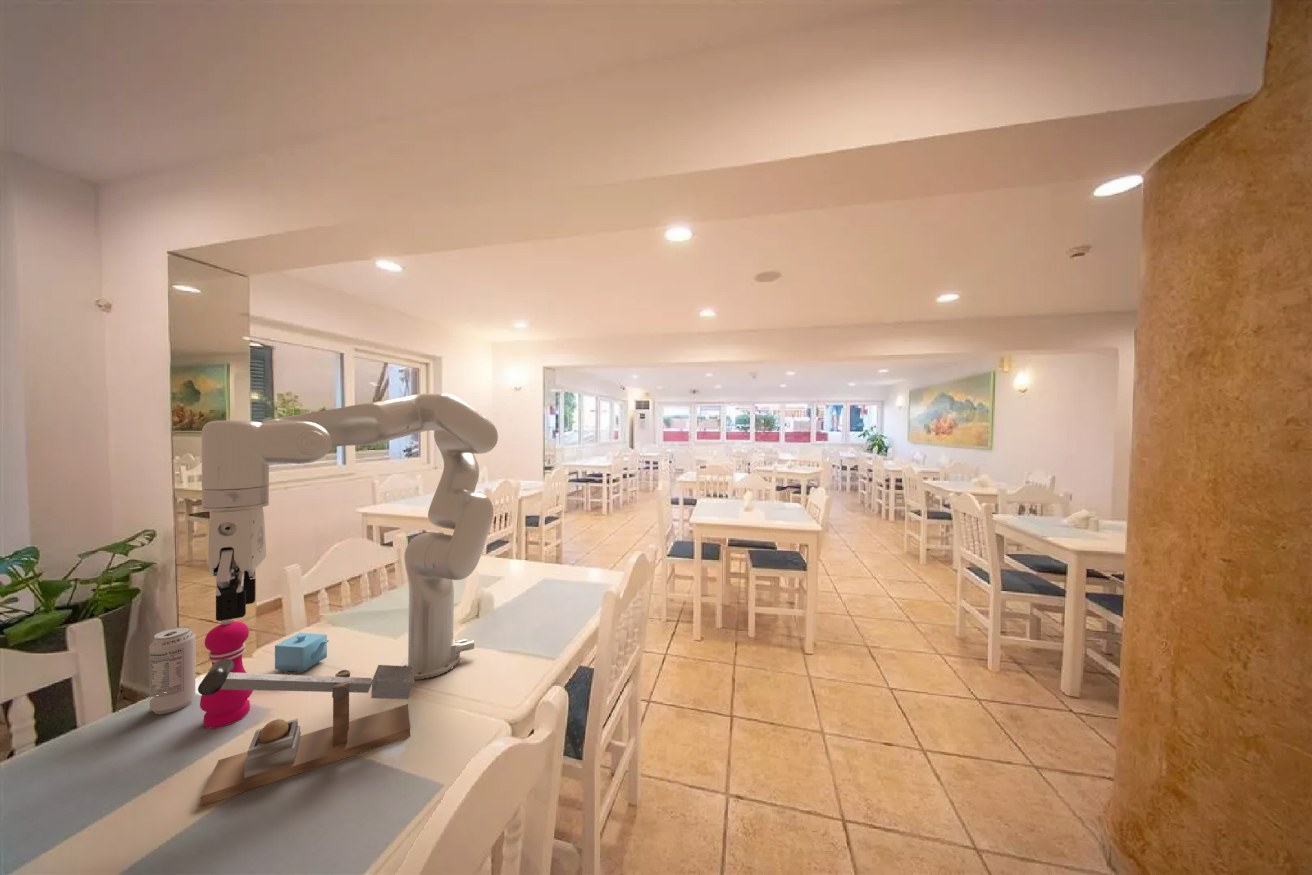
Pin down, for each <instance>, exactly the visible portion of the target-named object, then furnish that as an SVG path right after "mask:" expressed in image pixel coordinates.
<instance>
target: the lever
mask: <svg viewBox="0 0 1312 875" xmlns="http://www.w3.org/2000/svg"><path fill="white" fill-rule="evenodd" d="M233 667H234V663H233V661H232V660H230V659H222V660H219V661H217V662H216V663H214V665H213V666H212V665H211V667H210V669H209V670H208V672H207V673H206V675H205V676H204V677H203V679H202V681H201V682H200V683H199V685H198V688H197V691H198V693H199V694H200V695H201V696H202V695H212V694H214V693H216V692H218V691H219V690H220V689H230V690H253V691H274V692H275V691H277V692H278V691H281V692H282V691H283V692H318V693H319V692H321V693H322V692H323V693H324V692H325V693H326V692H327V693H333V686H334V684H338V683H342V682H346V681H348V692H349V693H359V694H360V693H362V694H363V693H365V694H368V693H369V692H370V689H371V693H370V694H371V696H370V699H381V700H382V699H387V700H388V699H389V700H408V699H409V696H410V694H411V692H412V689H413V687H414V685H415V684H414V683H415V679H414V676H413V668H412V667H409V666H401V665H388V664H387V665H386V664H385V665H384V664H377V668H376V670H375V673H374V675H373V676H372V677H356V676H355V677H354V676H350V677H335V676H329V675H302V674H279V673H276V674H275V673H258V672H256V673H253V672H246V673H233V672H231V670H232V669H233Z"/></svg>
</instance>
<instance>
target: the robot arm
mask: <svg viewBox="0 0 1312 875" xmlns="http://www.w3.org/2000/svg"><path fill="white" fill-rule="evenodd" d="M427 431H428V432H429V431H433V438H434V442H435V444H436V446H437V448H438V449H439V452H440V454H441V456H442V460H443V470H442V473H441V477H440V480H439V482H438V485H437V487H436V488H435V489H436V490H435V492H434V495H433V497H432V499H431V503H430V505H429V508H428V511H427V512H428V513H427V516H428V521H429V522H430V523H431V524H432V525H433V526H435V527H437V528H440V529H445V530H446V529H447V530H453V533H452V535H451V534H446V533H439V532H423V533H420V534H418V535H416V536H415V537H413V538H412V539H411V540H410V541H409V543H408V544H407V546H406V548H405V551H404V556H403V557H404V558H403V560H404V567H405V571H406V575H407V576H406V577H407V582H408V634H407V635H408V638H407V639H408V642H407V643H408V644H407V645H408V646H407V648H408V649H407V650H408V651H407V652H408V653H407V655H408V656H407V657H406V658H405V659H404V660H403V661H402V662H401V664H400V666H409V667H412V668H413V676H414V680H425V679H424V678H426V679H430V678H429V677H431V678H434V677H433V676H435V677H438V676H440V674H441V675H443V674H445V673H444V672H446V671H447V672H449V671H450V670H449V669H451V668H452V667H454V666H455V665H456V664H457V663H458V664H459V662H460V660H461V652H467V651H471V650H474V649H475V642H474V640H471V641H470V640H469V641H468V639H467V638H464V639H461V640H455V637H454V605H455V604H454V601H455V587H454V581H461V580H465V579H466V578H468V577H469V576H470V575H472V574H473V572H474V571H475V569H476V568H477V566H478V564H479V561H480V559H481V557H482V553H483V550H484V548H485V545H486V542H487V539H488V536H489V532H490V529H491V526H492V523H493V519H494V505H493V503H492V500H491V499H490V497H488V496H487V495H486V494H484V493H480V492H476V487H477V484H478V481H479V476H480V467H479V464H478V460H477V458H476V456H475V454H478V455H481V454H487V453H489V452H491V451H492V450H493V449H494V448H495V447H496V446H497V443H498V439H499V434H498V430H497V428H496V426H495V424H494V423H493V422H492V421H491V420H489V419H488V418H487V417H486V416H484V415H483V414H482V413H480V412H479V411H478V410H476V409H475V408H474V407H472V406H471V405H469V403H467V402H465V401H464V400H462V399H461V398H459V397H458V396H456V395H453V394H450V393H417V394H412V395H406V396H400V397H394V398H389V399H384V400H378V401H371V402H366V403H361V404H360V403H359V404H354V405H348V406H343V407H337V408H333V409H327V410H326V409H325V410H320V411H314V412H313V411H312V412H305V413H300V414H294V415H289V416H283V417H282V416H281V417H277V418H271V419H268V420H264V421H262V422H260V421H253V420H212V421H208V422H207V423H205V424H204V425H203V427H202V429H201V511H202V512H209V513H210V516H209V525H208V526H209V530H208V531H209V532H208V547H207V548H208V550H207V551H208V552H207V553H208V555H207V558H208V571H209V572H208V573H209V575H211V576H213V577H216V578H215V582H216V589H215V621H217V622H221V621H223V620H229V619H241V618H243V617H245V616H246V614H247V613H246V612H247V605H250V604H254V603H255V602H256V578H255V577H256V576H255V575H256V573H255V571H256V569H257V567H259V566H260V565H261V563H262V562H263V561H264V559H265V558H266V555H267V550H266V549H267V547H266V546H267V545H266V530H265V529H266V527H265V515H264V514H265V513H264V508H263V507H268V506H269V504H270V499H269V498H270V494H269V492H270V490H269V489H270V488H269V487H270V485H269V484H270V483H269V482H270V479H269V478H270V475H269V474H270V470H269V469H270V464H290V465H291V464H292V465H304V464H310V463H314V462H317V461H319V460H321V459H322V458H324V457H325V456H326V455H328V453H329V452H330V451H331V448H335V447H337V448H338V447H345V446H346V447H347V446H349V447H350V446H369V445H376V444H381V443H386V442H389V441H393V440H396V439H400V438H403V437H408V436H411V435H415V434H418V433H422V432H427ZM459 659H460V660H459ZM458 661H459V662H458ZM458 664H457V665H458ZM457 665H456V666H457ZM456 666H455V667H456ZM455 667H454V668H455ZM452 669H453V668H452ZM452 669H451V670H452ZM448 670H449V671H448ZM447 672H446V673H447ZM442 673H443V674H442Z"/></svg>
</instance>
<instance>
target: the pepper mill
mask: <svg viewBox="0 0 1312 875" xmlns="http://www.w3.org/2000/svg"><path fill="white" fill-rule="evenodd" d="M220 623H221V624H218V625H216V626H214V627H213V628H212V629H210V631H208V633H207V634H206V635H205V637H204V638H205V639H204V647H205V648H206V649H207V650H208V651H209V652H208V654H207V655H208V662H210V663H211V667H212V666H213V665H214V663H216V662H217V661H219V660H222V659H230V660H232V661H233V663H234V667H233V669H232V670H231V672H233V673H247V671H246V670H245V667H244V663H243V655H244V653H245V652H246V643H245V642H246V641H247V639H248V637H249V634H250V628H249V627H248V625H247V624H246V623H244V622H242V621H239V620H238V621H234V619H229V620H223V621H220ZM253 692H254V690H230V689H220V690H219V691H218V692H216V693H214V694H212V695H202V694H201V696H200V701H199V707H200V710H202V711H204V712H205V713H204V714H203V726H204V727H205V728H207V729H218V728H222V727H223V728H224V727H225V726H228V725H231V724H233V723H236V722H238V721H240V720H241V719H243V718H244V717H246V716H247V714H248V713H250V710H251V702H250V699H249V698H250V697H251V695H252V694H253Z"/></svg>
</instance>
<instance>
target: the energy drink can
mask: <svg viewBox="0 0 1312 875" xmlns="http://www.w3.org/2000/svg"><path fill="white" fill-rule="evenodd" d="M148 646H149V647H148V649H149V655H148V656H149V658H148V659H149V710H150V711H152V712H154V714H156V715H163V714H164V715H165V714H169V713H172V712H176V711H179V710H181V709H183V708H184V707H187V706H188V705H189V704H190V703H191V702H192V700H193V699H194V698H195V696H196V634H195V633H194V632H193V631H192V628H191V627H190V626H179V627H171V628H169V629H166V630H162V631H160V632H158V633H156V634H154V636H153V640H152V641H151V643H150V644H149V645H148ZM164 692H167V693H164ZM156 695H159V696H156ZM151 697H154V698H152V699H151V700H150V698H151Z"/></svg>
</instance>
